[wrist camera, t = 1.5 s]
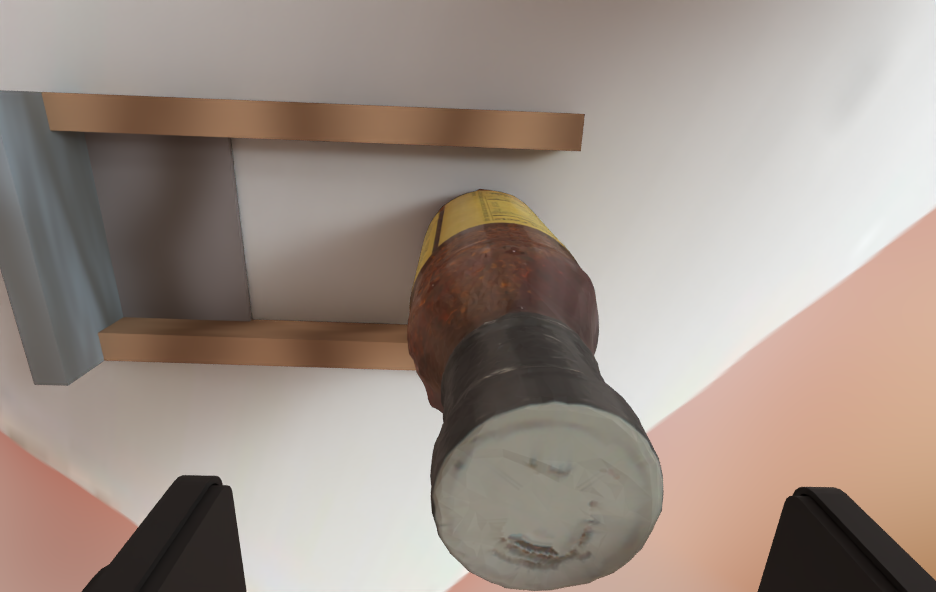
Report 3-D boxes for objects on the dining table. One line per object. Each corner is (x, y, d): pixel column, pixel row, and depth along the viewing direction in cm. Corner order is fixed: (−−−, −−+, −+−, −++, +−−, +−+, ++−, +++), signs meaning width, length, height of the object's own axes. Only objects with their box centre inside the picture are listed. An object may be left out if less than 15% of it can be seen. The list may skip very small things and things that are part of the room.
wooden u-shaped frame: (574, 113, 25) (598, 114, 20) (549, 354, 30) (564, 400, 25) (46, 92, 25) (-53, 88, 20) (104, 340, 29) (34, 384, 24)
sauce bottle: (478, 318, 29) (502, 705, 10) (401, 238, 27) (260, 523, 9) (570, 244, 27) (794, 535, 9) (494, 154, 26) (568, 275, 7)
